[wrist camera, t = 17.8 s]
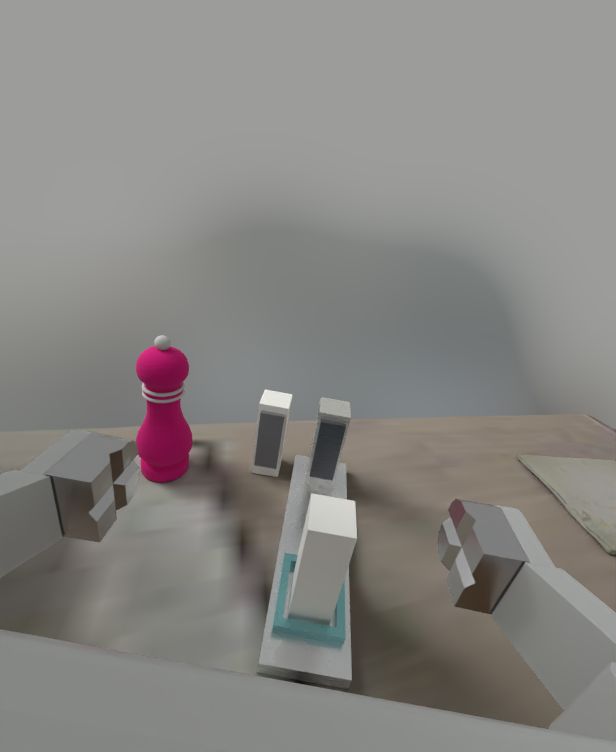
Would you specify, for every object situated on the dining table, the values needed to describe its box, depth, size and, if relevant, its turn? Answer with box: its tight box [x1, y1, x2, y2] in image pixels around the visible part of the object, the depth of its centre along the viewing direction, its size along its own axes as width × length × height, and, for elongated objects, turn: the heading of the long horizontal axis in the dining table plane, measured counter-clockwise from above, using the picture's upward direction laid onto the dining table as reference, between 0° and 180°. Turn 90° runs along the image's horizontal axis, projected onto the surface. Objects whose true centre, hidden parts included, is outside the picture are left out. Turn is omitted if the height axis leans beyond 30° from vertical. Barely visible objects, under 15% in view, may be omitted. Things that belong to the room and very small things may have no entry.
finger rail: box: [257, 397, 352, 689], centre depth 40 cm, size 8×28×14 cm, turn 176°
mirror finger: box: [251, 390, 292, 477], centre depth 51 cm, size 4×5×12 cm
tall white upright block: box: [288, 493, 357, 626], centre depth 33 cm, size 4×5×12 cm
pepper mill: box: [136, 336, 193, 482], centre depth 46 cm, size 7×7×20 cm
